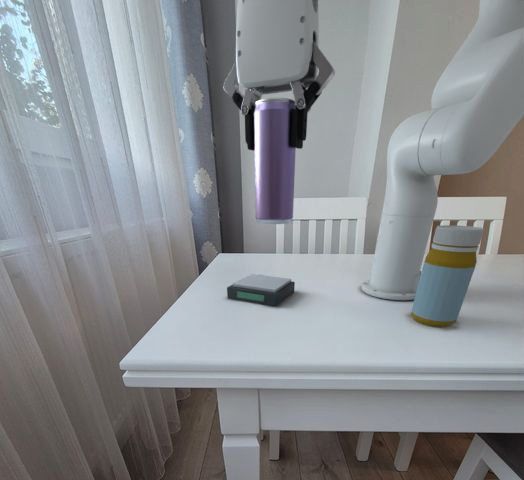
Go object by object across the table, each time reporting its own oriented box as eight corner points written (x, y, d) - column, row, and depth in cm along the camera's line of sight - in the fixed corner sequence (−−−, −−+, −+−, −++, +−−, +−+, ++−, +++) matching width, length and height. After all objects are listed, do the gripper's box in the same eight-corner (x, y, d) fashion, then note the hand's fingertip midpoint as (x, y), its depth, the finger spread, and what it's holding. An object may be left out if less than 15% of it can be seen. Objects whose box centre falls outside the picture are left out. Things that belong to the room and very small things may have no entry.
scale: (294, 292, 64) (295, 279, 63) (275, 307, 56) (275, 292, 55) (250, 286, 69) (249, 273, 67) (226, 298, 61) (226, 284, 59)
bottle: (461, 330, 47) (497, 230, 40) (415, 326, 49) (442, 229, 41) (446, 314, 53) (475, 225, 46) (406, 311, 55) (428, 224, 47)
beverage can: (291, 224, 44) (296, 95, 37) (252, 224, 45) (249, 98, 38) (293, 220, 49) (298, 107, 42) (258, 220, 50) (257, 108, 43)
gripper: (359, -42, 34) (340, 148, 42) (228, -5, 40) (235, 154, 49) (347, -91, 28) (328, 142, 36) (195, -38, 34) (210, 149, 43)
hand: (275, 147), depth 42 cm, fingers closed on beverage can, 6 cm apart
